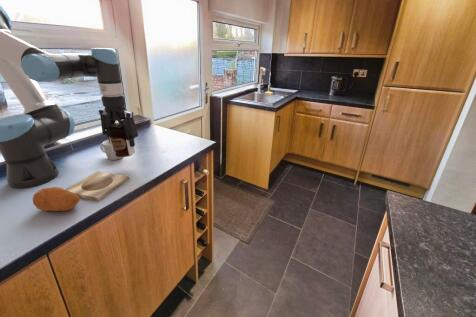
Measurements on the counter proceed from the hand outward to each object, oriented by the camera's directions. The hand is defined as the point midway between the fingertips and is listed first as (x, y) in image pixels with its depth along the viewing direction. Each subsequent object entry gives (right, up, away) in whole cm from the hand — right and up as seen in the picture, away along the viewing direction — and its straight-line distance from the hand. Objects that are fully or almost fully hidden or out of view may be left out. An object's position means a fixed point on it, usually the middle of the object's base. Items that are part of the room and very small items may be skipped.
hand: (123, 152), depth 95 cm
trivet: (-4, -13, -10) cm, 17 cm away
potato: (-9, -18, -22) cm, 30 cm away
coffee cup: (0, -1, +1) cm, 1 cm away
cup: (-11, -2, +13) cm, 17 cm away
